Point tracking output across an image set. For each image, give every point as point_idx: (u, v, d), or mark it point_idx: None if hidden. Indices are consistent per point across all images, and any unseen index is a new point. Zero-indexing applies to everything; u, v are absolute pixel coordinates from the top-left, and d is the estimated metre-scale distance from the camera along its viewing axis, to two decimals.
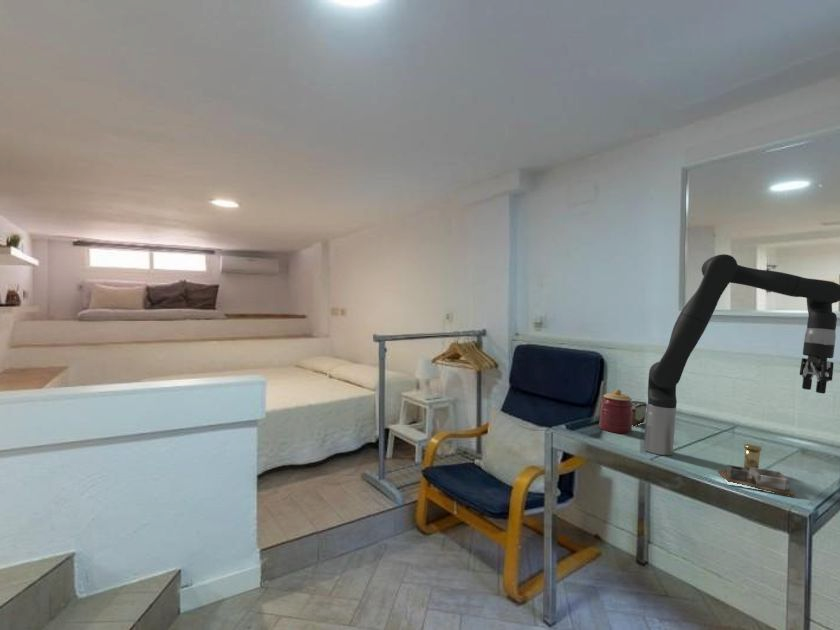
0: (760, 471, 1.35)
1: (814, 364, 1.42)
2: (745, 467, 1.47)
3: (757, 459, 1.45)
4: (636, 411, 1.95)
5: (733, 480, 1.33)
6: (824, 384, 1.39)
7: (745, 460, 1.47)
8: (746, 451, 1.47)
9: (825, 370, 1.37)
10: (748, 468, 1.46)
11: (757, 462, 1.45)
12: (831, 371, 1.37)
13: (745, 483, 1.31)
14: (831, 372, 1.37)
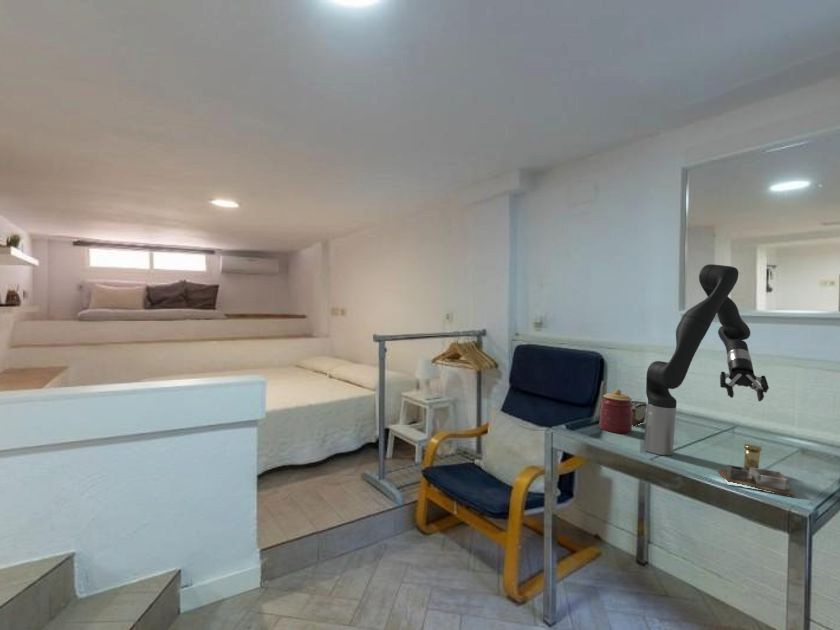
0: (760, 471, 1.35)
1: None
2: (745, 467, 1.47)
3: (757, 459, 1.45)
4: (636, 411, 1.95)
5: (733, 480, 1.33)
6: None
7: (745, 460, 1.47)
8: (746, 451, 1.47)
9: None
10: (748, 468, 1.46)
11: (757, 462, 1.45)
12: None
13: (745, 483, 1.31)
14: None
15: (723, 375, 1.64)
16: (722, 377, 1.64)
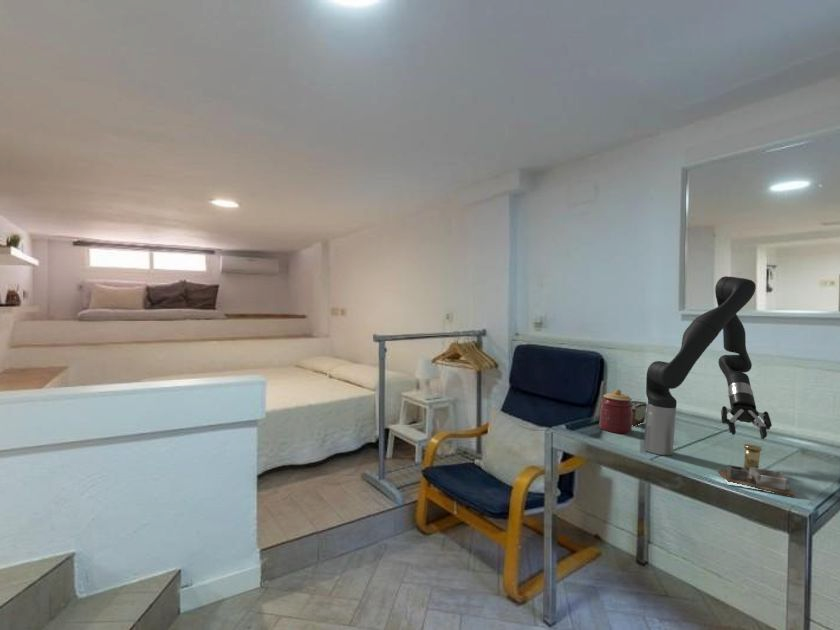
0: (760, 471, 1.35)
1: None
2: (745, 467, 1.47)
3: (757, 459, 1.45)
4: (636, 411, 1.95)
5: (733, 480, 1.33)
6: None
7: (745, 460, 1.47)
8: (746, 451, 1.47)
9: None
10: (748, 468, 1.46)
11: (757, 462, 1.45)
12: None
13: (745, 483, 1.31)
14: None
15: (724, 410, 1.58)
16: (723, 412, 1.58)
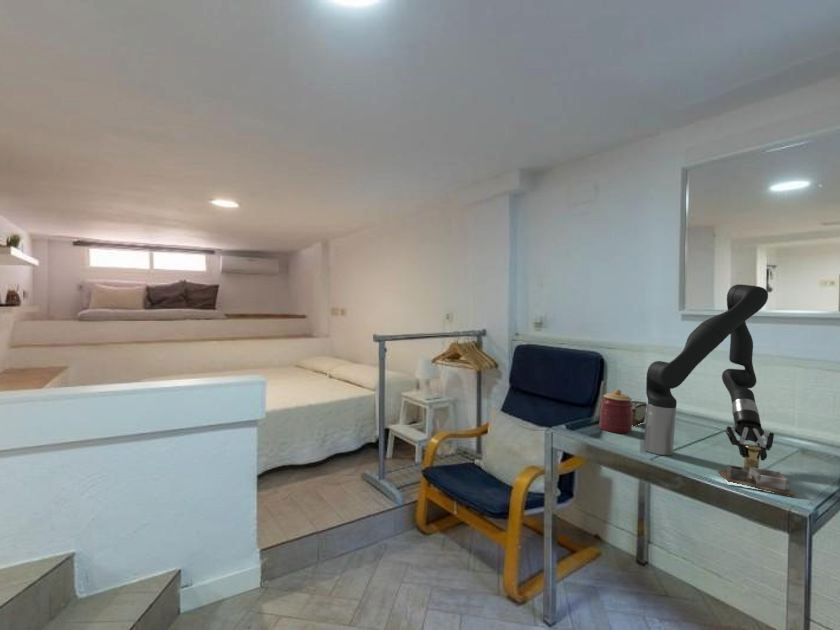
0: (760, 471, 1.35)
1: None
2: (745, 467, 1.47)
3: (757, 459, 1.45)
4: (636, 411, 1.95)
5: (733, 480, 1.33)
6: None
7: (745, 460, 1.47)
8: (746, 451, 1.47)
9: (772, 441, 1.47)
10: (748, 468, 1.46)
11: (757, 462, 1.45)
12: None
13: (745, 483, 1.31)
14: None
15: (730, 431, 1.52)
16: (731, 433, 1.51)
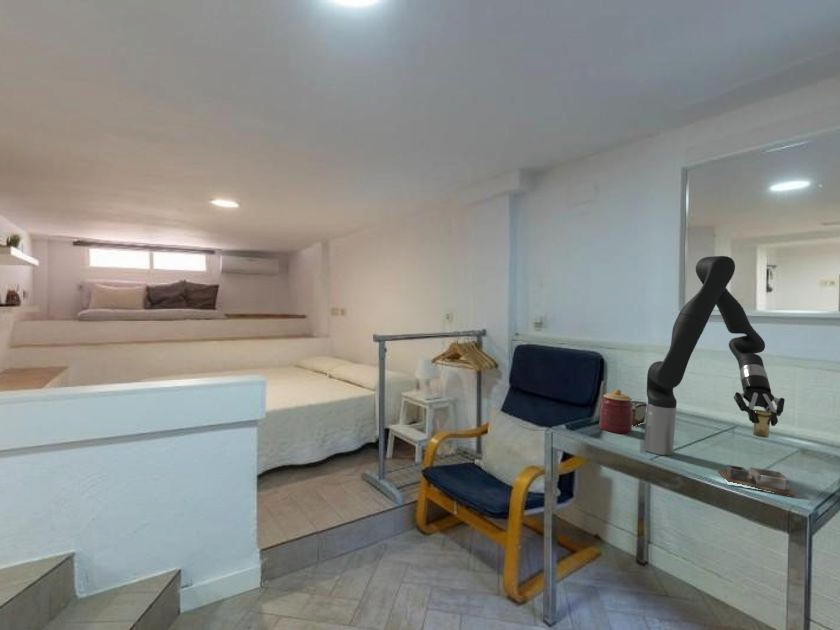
0: (760, 471, 1.35)
1: None
2: (755, 433, 1.41)
3: (767, 424, 1.39)
4: (636, 411, 1.95)
5: (733, 480, 1.33)
6: None
7: (755, 426, 1.41)
8: (756, 416, 1.41)
9: None
10: (758, 434, 1.40)
11: (767, 427, 1.39)
12: None
13: (745, 483, 1.31)
14: None
15: (739, 396, 1.45)
16: (740, 399, 1.45)
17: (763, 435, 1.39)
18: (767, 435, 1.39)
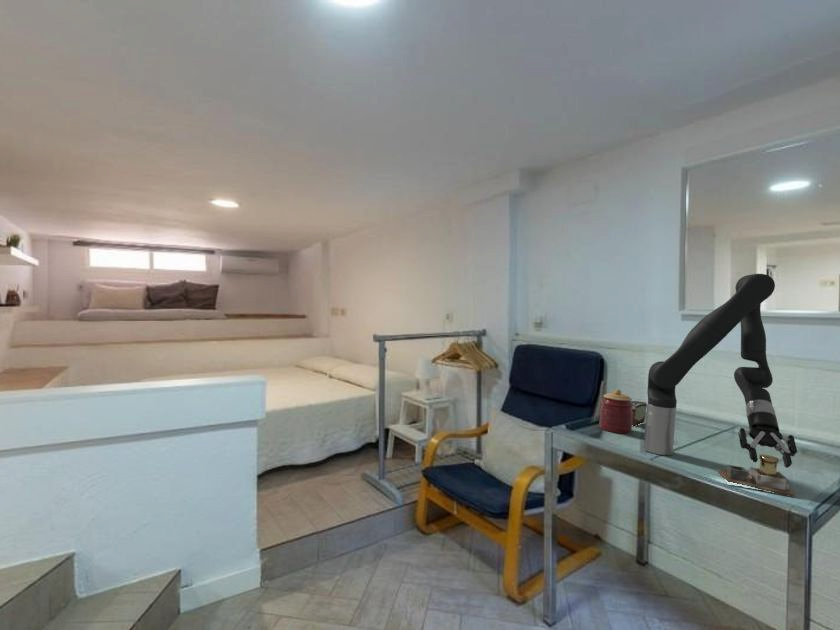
0: None
1: None
2: None
3: (774, 471, 1.30)
4: (636, 411, 1.95)
5: (733, 480, 1.33)
6: None
7: (760, 472, 1.32)
8: (761, 462, 1.32)
9: None
10: None
11: (774, 475, 1.30)
12: None
13: (745, 483, 1.31)
14: None
15: (743, 433, 1.38)
16: (742, 436, 1.37)
17: None
18: None
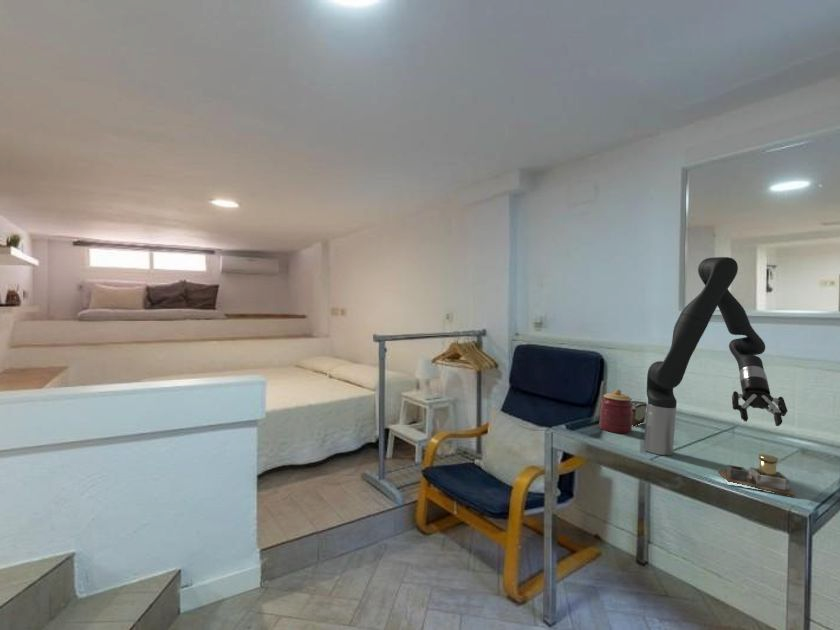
0: None
1: None
2: None
3: (773, 471, 1.30)
4: (636, 411, 1.95)
5: (733, 480, 1.33)
6: None
7: (760, 472, 1.32)
8: (761, 462, 1.32)
9: None
10: None
11: (774, 475, 1.30)
12: None
13: (745, 483, 1.31)
14: None
15: (736, 395, 1.47)
16: (735, 398, 1.46)
17: None
18: None
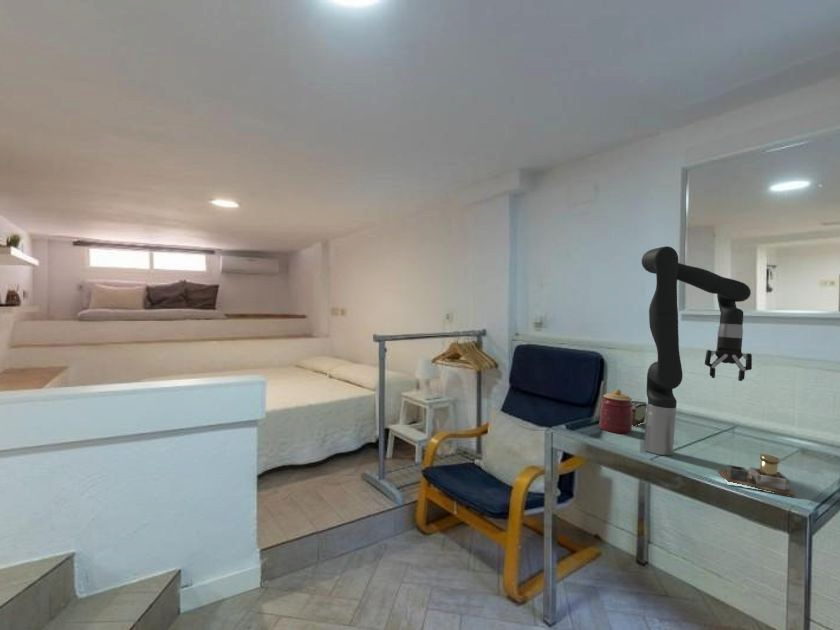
0: None
1: (736, 356, 1.60)
2: None
3: (774, 472, 1.30)
4: (636, 411, 1.95)
5: (733, 480, 1.33)
6: None
7: (760, 472, 1.32)
8: (762, 462, 1.32)
9: None
10: None
11: (774, 475, 1.30)
12: None
13: (745, 483, 1.31)
14: None
15: (709, 355, 1.63)
16: (707, 357, 1.64)
17: None
18: None
